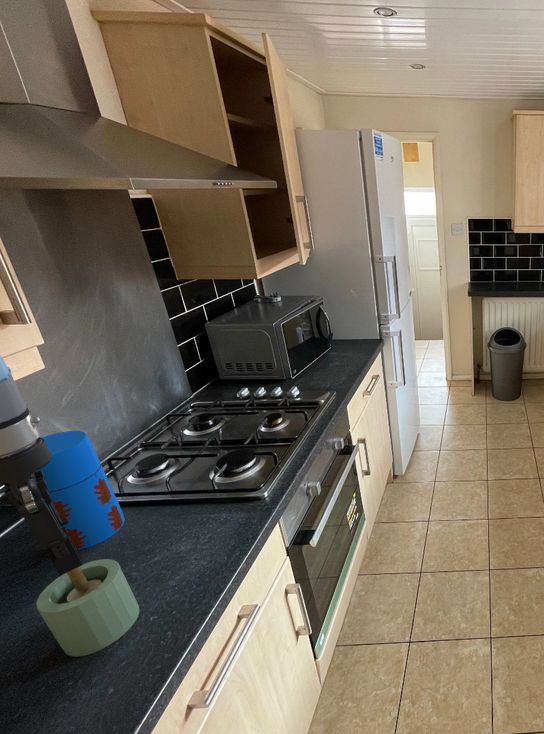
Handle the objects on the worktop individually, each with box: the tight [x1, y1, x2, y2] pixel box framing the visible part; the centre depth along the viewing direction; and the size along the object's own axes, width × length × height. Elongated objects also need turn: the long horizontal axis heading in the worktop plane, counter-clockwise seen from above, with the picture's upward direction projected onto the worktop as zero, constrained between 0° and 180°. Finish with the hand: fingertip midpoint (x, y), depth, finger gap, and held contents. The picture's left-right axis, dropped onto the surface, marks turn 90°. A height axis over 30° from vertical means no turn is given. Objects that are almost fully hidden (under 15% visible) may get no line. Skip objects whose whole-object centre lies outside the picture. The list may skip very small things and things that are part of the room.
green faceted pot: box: [35, 558, 140, 658], centre depth 73 cm, size 10×10×11 cm
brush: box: [67, 567, 102, 602], centre depth 70 cm, size 4×4×19 cm
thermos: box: [37, 430, 126, 551], centre depth 90 cm, size 11×11×25 cm
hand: (70, 565), depth 70 cm, fingers closed on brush, 2 cm apart
